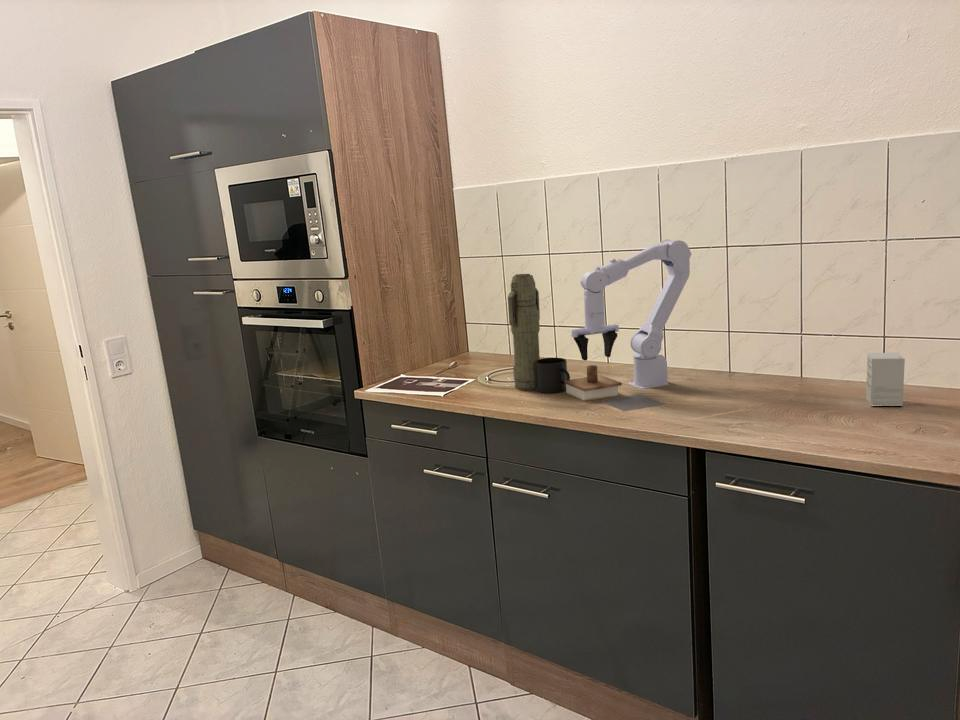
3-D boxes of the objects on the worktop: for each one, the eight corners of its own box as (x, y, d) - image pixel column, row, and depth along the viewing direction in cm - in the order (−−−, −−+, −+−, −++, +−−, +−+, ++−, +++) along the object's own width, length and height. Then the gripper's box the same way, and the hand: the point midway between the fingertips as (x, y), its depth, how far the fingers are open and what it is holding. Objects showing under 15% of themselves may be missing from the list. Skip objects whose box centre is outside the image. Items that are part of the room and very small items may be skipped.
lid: (600, 377, 220) (599, 360, 219) (621, 385, 209) (621, 367, 208) (564, 383, 216) (563, 365, 215) (584, 391, 205) (583, 373, 204)
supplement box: (897, 400, 189) (899, 352, 187) (903, 408, 182) (905, 358, 180) (865, 399, 192) (866, 352, 189) (869, 407, 185) (871, 358, 182)
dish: (599, 389, 221) (598, 377, 220) (618, 396, 211) (617, 384, 210) (566, 394, 217) (565, 382, 217) (583, 402, 207) (583, 390, 206)
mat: (640, 395, 211) (640, 393, 211) (666, 405, 199) (666, 403, 199) (599, 401, 207) (599, 400, 206) (624, 412, 195) (624, 411, 194)
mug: (559, 396, 216) (558, 366, 214) (530, 390, 225) (528, 361, 223) (580, 389, 222) (579, 360, 220) (551, 384, 231) (550, 356, 229)
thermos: (505, 389, 229) (498, 276, 222) (528, 381, 237) (522, 272, 230) (527, 392, 223) (521, 276, 216) (551, 383, 231) (545, 272, 224)
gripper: (578, 316, 208) (580, 363, 211) (623, 311, 213) (624, 357, 216) (567, 314, 215) (569, 359, 217) (611, 308, 219) (612, 353, 222)
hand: (596, 358), depth 217 cm, fingers open, 7 cm apart
